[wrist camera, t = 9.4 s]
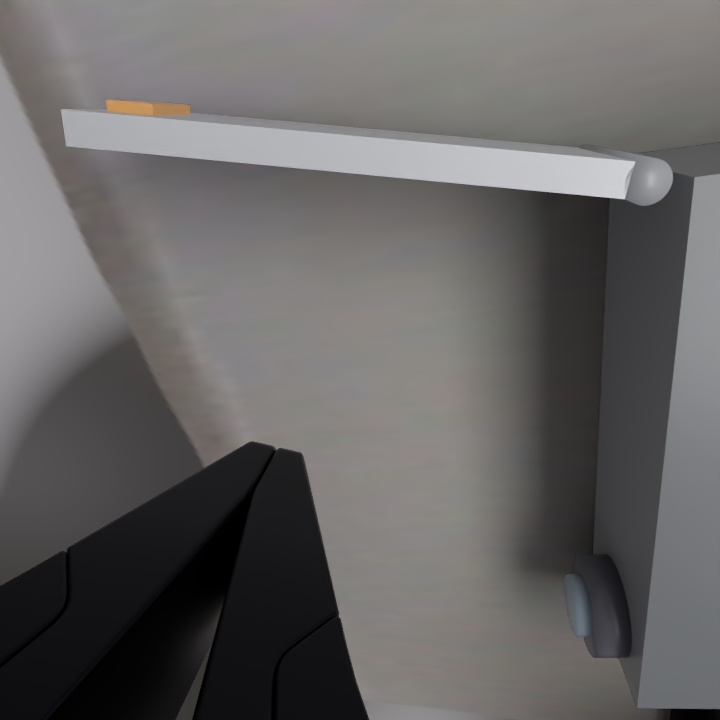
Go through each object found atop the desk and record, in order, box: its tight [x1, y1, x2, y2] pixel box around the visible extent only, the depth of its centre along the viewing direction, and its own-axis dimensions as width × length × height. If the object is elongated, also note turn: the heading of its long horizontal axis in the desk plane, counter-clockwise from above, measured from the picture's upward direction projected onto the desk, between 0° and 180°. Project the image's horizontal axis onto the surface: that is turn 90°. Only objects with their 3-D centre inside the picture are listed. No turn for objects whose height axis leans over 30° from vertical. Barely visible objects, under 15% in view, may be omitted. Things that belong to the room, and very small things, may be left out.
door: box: [61, 100, 673, 206], centre depth 14 cm, size 14×1×5 cm, turn 85°
